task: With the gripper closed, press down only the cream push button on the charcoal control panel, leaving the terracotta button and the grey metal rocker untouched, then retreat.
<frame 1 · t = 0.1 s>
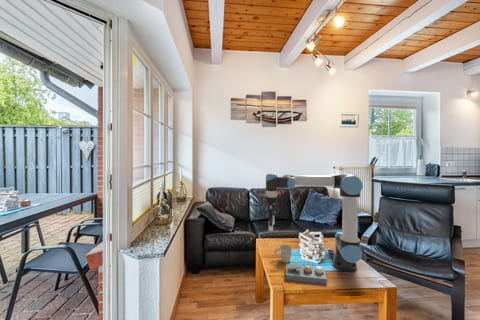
hand: (271, 227, 155), 28 cm above the table, fingers open, 13 cm apart
rocker: (294, 266, 147), point 6 cm above the table, hinge at 12.0°
button cream: (319, 270, 143), point 4 cm above the table, slide at 0.0 cm
button terracotta: (307, 269, 145), point 4 cm above the table, slide at 0.0 cm
mug: (283, 260, 167), on the table
panel: (305, 275, 145), on the table
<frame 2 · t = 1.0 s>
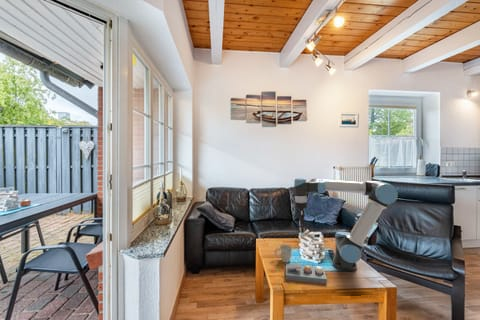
hand: (302, 233, 151), 25 cm above the table, fingers open, 13 cm apart
nothing on the table moved.
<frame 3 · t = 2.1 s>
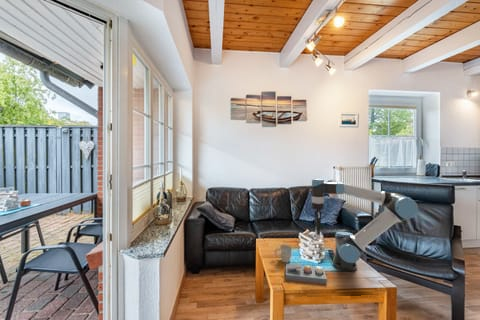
hand: (317, 237, 150), 23 cm above the table, fingers open, 3 cm apart
nothing on the table moved.
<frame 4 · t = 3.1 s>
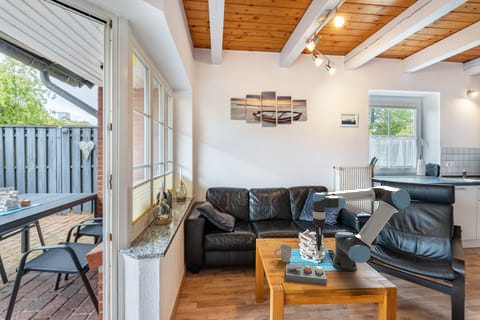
hand: (318, 255, 143), 14 cm above the table, fingers closed
nothing on the table moved.
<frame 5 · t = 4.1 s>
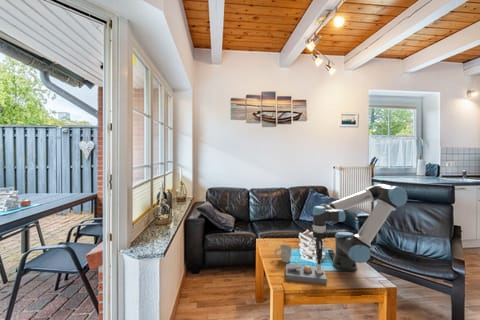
hand: (318, 268, 143), 6 cm above the table, fingers closed
button cream: (319, 271, 143), point 4 cm above the table, slide at 0.5 cm, touching gripper
everything else where it was.
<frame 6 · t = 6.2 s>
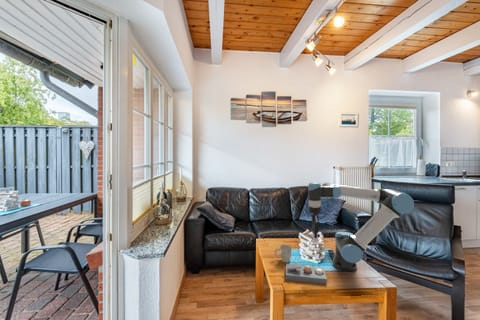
hand: (315, 242, 149), 20 cm above the table, fingers closed
button cream: (319, 272, 143), point 3 cm above the table, slide at 1.4 cm
everything else where it was.
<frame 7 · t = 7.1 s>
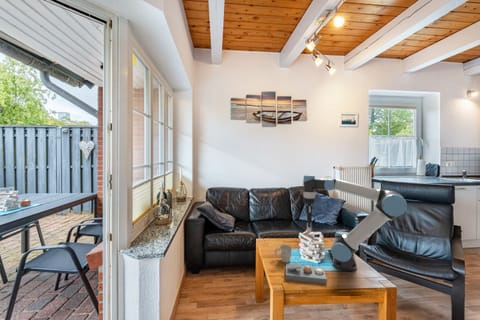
hand: (309, 231, 157), 24 cm above the table, fingers closed
nothing on the table moved.
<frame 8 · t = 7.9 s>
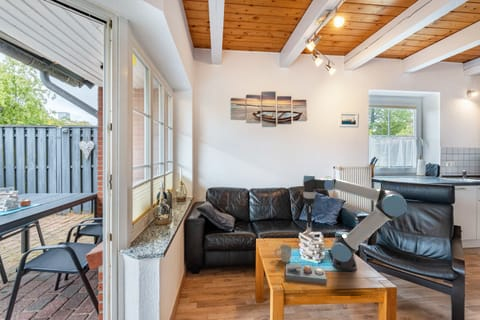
hand: (309, 231, 157), 24 cm above the table, fingers closed
nothing on the table moved.
at the end: button cream slide at 1.4 cm; button terracotta slide at 0.0 cm; rocker at +12° (first picture: +12°) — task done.
